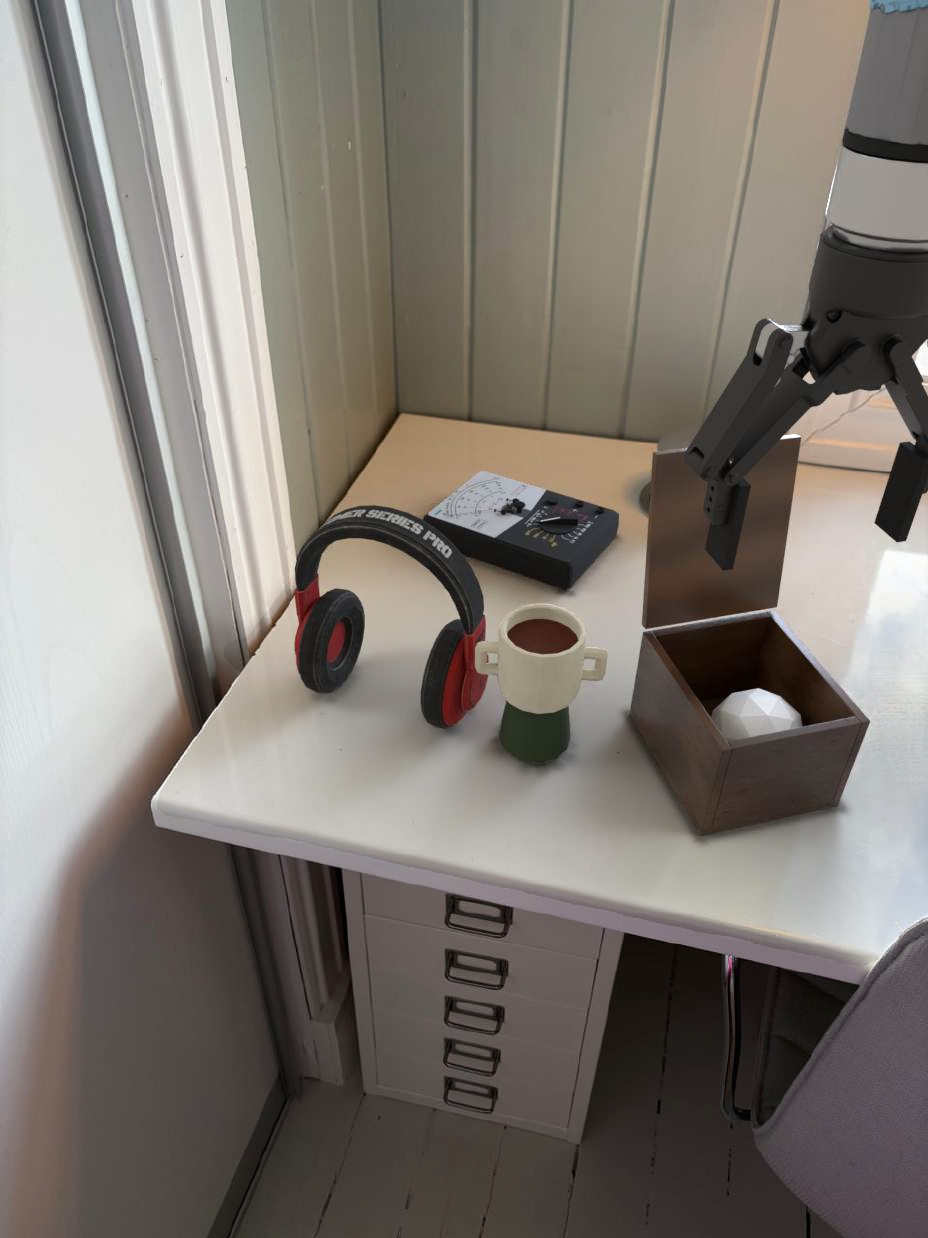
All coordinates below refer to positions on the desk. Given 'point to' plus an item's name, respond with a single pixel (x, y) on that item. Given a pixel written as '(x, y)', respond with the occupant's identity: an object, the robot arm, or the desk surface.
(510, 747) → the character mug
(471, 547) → the multimeter
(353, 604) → the headphones
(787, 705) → the geometric ball
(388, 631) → the desk surface
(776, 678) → the chest
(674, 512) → the chest lid
